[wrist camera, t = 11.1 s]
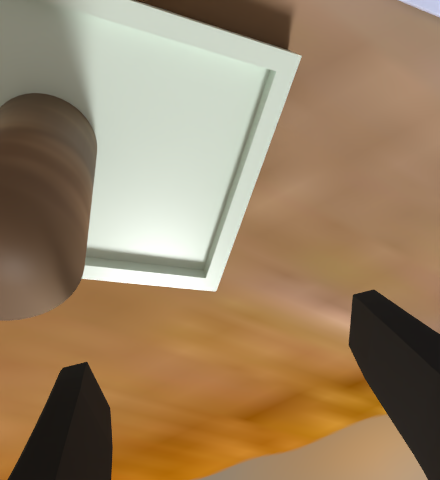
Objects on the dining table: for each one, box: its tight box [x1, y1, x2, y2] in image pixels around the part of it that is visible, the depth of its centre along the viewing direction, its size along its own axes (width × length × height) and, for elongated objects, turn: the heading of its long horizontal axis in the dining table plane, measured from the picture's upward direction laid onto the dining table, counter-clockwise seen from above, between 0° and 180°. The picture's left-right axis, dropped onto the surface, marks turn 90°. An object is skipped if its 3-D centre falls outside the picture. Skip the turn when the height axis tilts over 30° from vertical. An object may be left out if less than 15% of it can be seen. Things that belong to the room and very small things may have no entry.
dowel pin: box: [0, 93, 97, 320], centre depth 13 cm, size 4×4×8 cm
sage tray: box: [0, 0, 302, 291], centre depth 16 cm, size 18×12×2 cm, turn 73°
